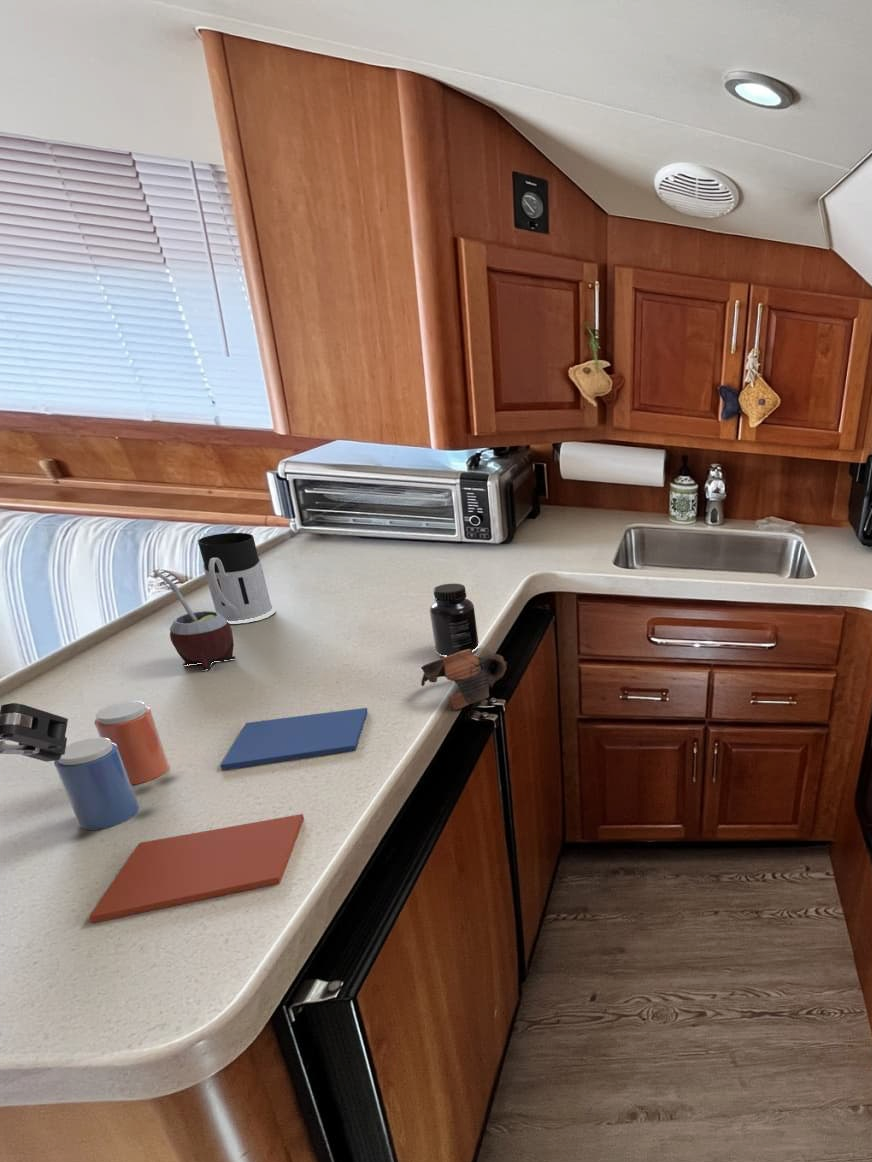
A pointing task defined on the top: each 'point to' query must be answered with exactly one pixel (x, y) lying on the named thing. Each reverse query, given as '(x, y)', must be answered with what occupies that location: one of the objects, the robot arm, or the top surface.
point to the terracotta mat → (200, 867)
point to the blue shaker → (97, 783)
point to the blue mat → (295, 738)
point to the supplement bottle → (453, 620)
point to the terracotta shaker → (134, 739)
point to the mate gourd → (200, 634)
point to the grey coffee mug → (235, 576)
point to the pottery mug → (466, 675)
